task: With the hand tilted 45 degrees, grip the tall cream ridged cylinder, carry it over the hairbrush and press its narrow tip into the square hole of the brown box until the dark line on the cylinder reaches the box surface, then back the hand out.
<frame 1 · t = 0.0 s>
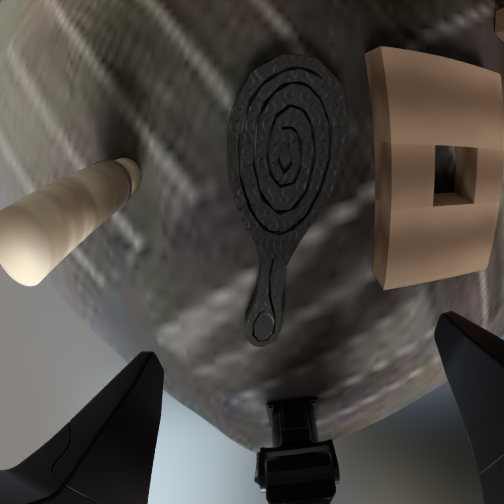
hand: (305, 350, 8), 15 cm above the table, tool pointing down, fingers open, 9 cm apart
hairbrush: (275, 223, 22), on the table
cream ridged cylinder: (124, 176, 20), on the table
brown box: (436, 167, 19), on the table
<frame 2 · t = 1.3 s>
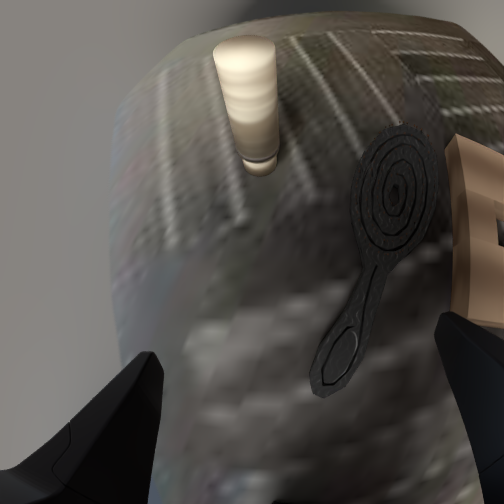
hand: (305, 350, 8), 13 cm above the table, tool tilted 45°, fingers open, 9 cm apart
hairbrush: (376, 252, 23), on the table
cream ridged cylinder: (260, 162, 25), on the table
brown box: (494, 237, 21), on the table
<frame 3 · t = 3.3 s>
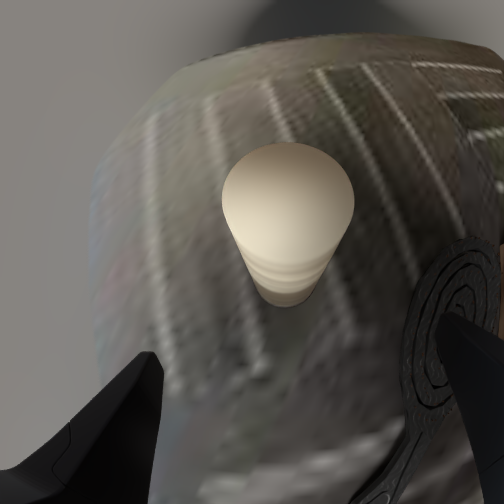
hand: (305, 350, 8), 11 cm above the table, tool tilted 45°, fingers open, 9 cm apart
hairbrush: (420, 401, 16), on the table
cream ridged cylinder: (284, 285, 19), on the table
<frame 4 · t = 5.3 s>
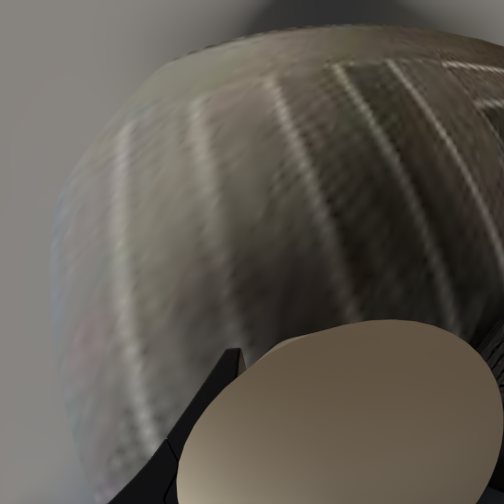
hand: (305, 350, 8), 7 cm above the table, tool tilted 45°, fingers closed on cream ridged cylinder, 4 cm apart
hairbrush: (445, 483, 10), on the table
cream ridged cylinder: (297, 371, 14), on the table, touching gripper
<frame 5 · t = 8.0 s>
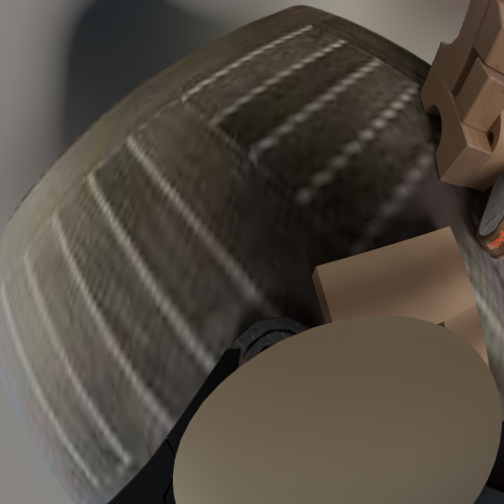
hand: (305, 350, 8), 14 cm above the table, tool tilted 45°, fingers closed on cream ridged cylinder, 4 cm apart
hairbrush: (283, 465, 18), on the table
cream ridged cylinder: (296, 371, 14), point 7 cm above the table, touching gripper
brown box: (409, 360, 19), on the table
wooden toy: (450, 134, 25), on the table
tin: (491, 209, 22), on the table
when the fingers open (7 cm above the table, at t = 10.8 s): cream ridged cylinder stays where it is, resting in brown box.
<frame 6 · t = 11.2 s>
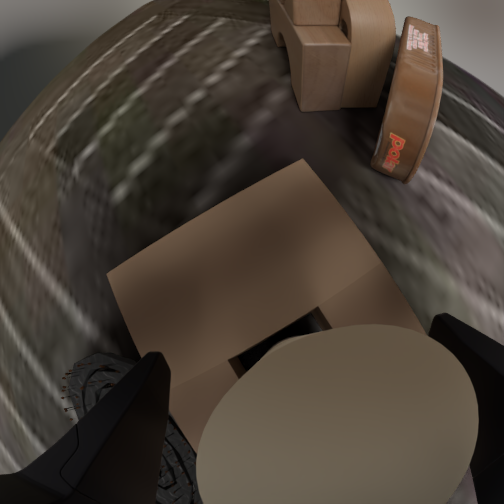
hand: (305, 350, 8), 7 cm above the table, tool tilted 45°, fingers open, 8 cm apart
cream ridged cylinder: (296, 370, 14), resting in brown box
brown box: (296, 370, 14), on the table
wooden toy: (316, 59, 22), on the table
tin: (394, 125, 19), on the table
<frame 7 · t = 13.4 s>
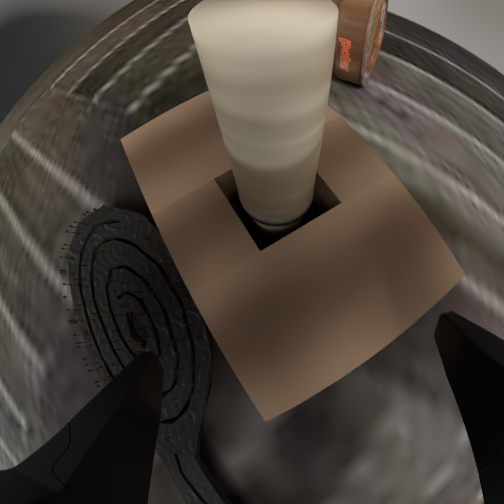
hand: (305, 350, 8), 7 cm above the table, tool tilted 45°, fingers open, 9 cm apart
hairbrush: (177, 412, 14), on the table
cream ridged cylinder: (277, 214, 17), resting in brown box
brown box: (277, 214, 17), on the table
tin: (359, 59, 21), on the table
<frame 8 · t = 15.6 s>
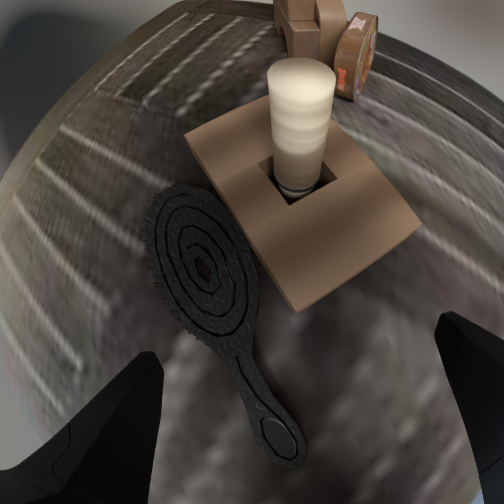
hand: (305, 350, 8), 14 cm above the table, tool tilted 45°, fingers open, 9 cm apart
hairbrush: (232, 332, 22), on the table
cream ridged cylinder: (295, 188, 25), resting in brown box
brown box: (295, 189, 25), on the table
wooden toy: (304, 43, 32), on the table
tin: (353, 78, 29), on the table
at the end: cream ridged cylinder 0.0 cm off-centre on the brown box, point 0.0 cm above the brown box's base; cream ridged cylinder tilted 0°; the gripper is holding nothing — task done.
